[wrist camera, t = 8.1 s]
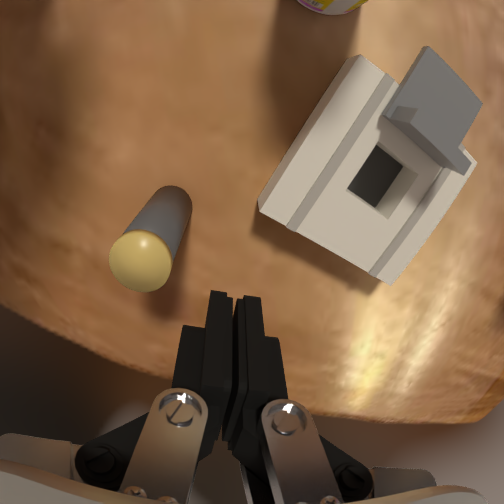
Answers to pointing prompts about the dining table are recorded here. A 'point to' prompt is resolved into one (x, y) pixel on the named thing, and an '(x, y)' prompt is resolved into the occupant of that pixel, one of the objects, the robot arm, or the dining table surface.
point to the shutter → (434, 110)
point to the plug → (151, 241)
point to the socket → (361, 178)
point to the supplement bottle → (332, 6)
